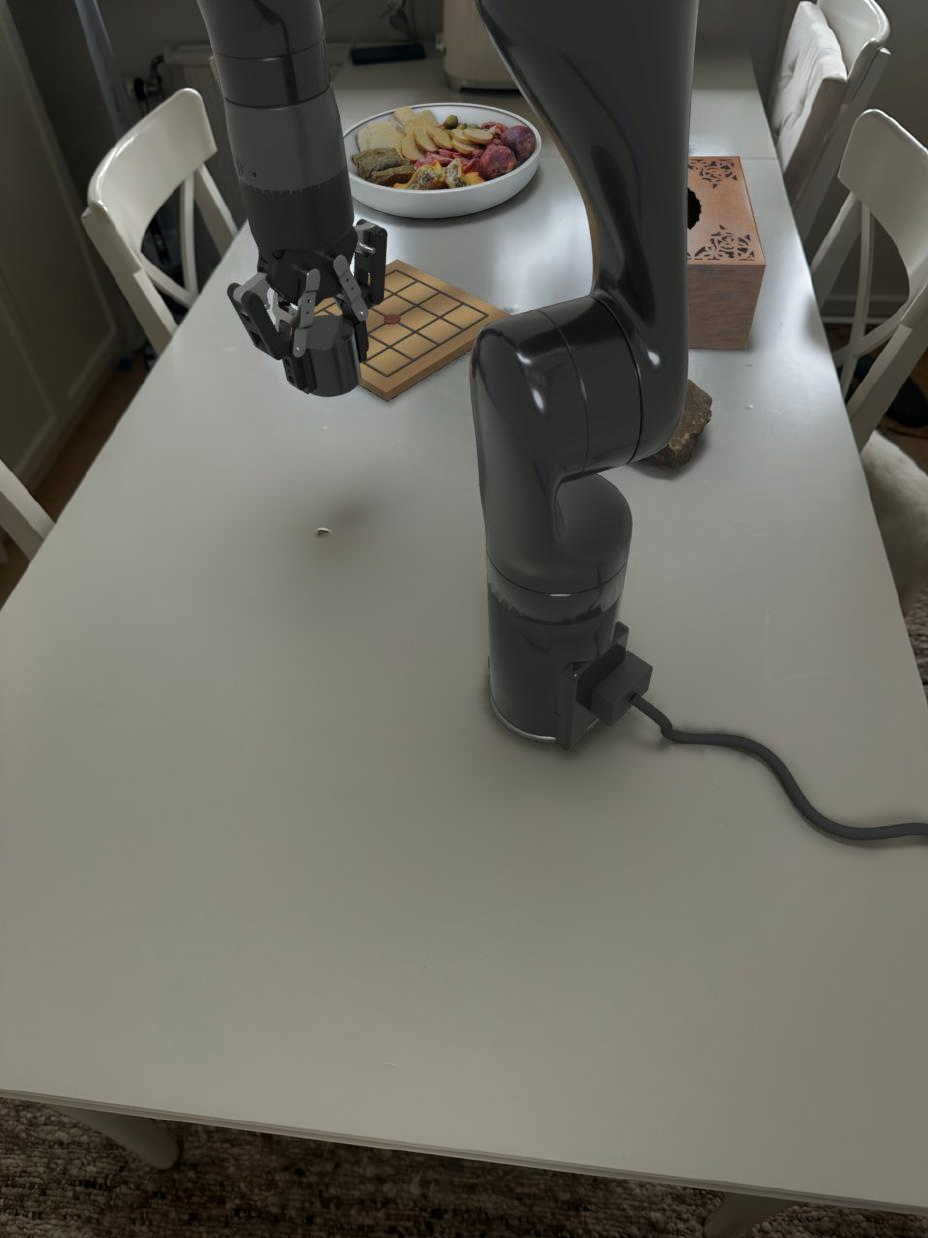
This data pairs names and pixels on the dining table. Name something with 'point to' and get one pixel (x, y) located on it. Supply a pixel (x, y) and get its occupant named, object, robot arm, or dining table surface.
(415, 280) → the board
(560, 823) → the dining table surface
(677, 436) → the stone
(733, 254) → the tissue box cover
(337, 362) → the dark grey short cylinder
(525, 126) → the bowl
